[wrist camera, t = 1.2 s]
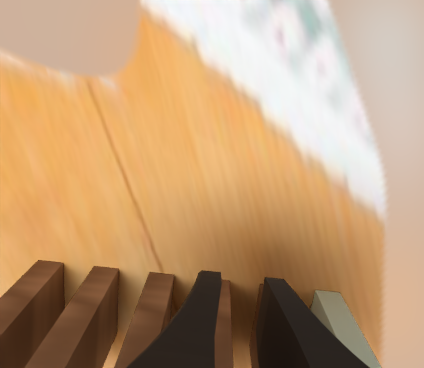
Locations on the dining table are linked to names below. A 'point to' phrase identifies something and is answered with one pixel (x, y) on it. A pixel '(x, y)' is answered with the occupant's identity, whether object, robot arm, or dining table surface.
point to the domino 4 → (224, 329)
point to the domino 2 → (83, 325)
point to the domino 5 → (253, 336)
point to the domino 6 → (342, 325)
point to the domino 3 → (148, 317)
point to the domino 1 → (30, 312)
